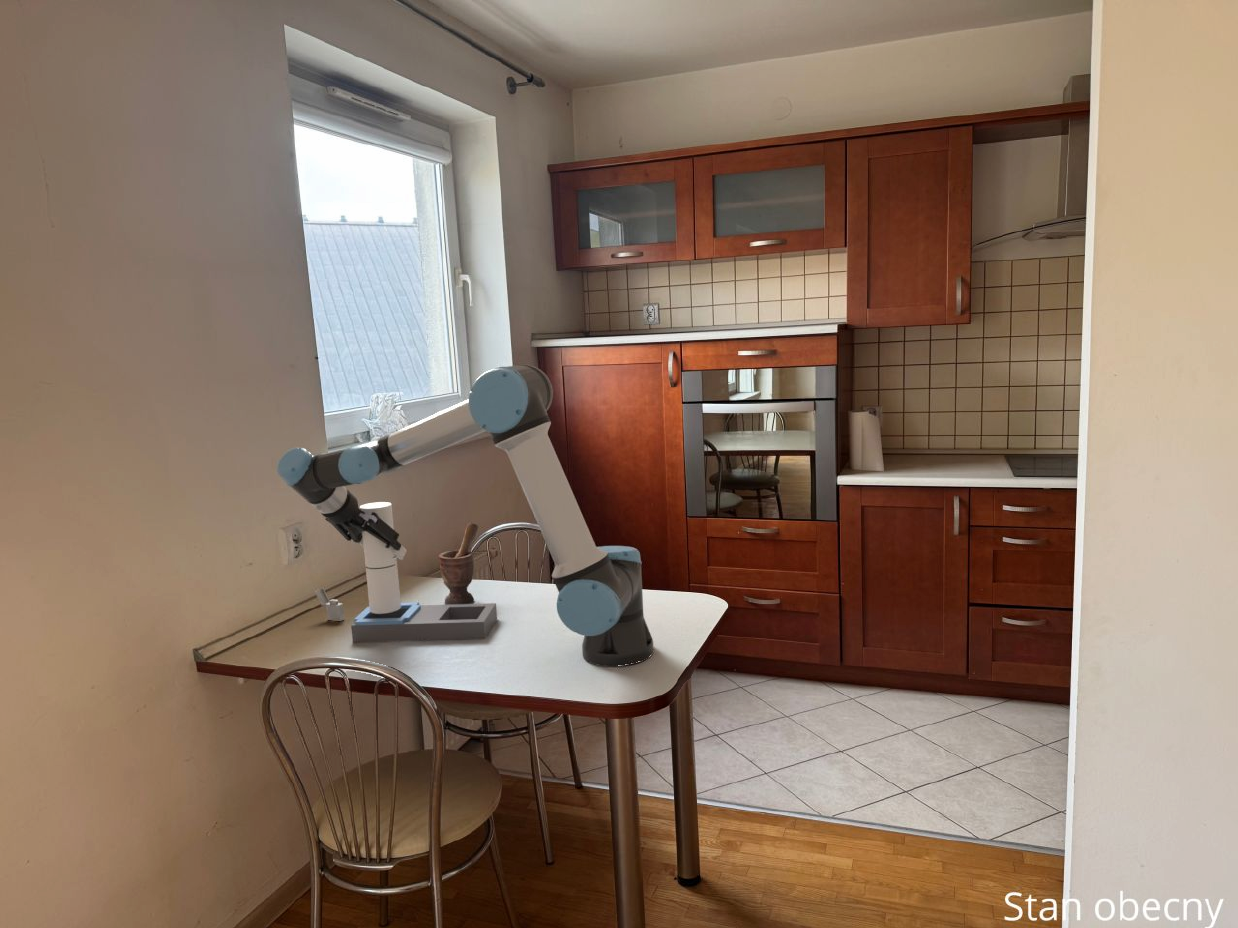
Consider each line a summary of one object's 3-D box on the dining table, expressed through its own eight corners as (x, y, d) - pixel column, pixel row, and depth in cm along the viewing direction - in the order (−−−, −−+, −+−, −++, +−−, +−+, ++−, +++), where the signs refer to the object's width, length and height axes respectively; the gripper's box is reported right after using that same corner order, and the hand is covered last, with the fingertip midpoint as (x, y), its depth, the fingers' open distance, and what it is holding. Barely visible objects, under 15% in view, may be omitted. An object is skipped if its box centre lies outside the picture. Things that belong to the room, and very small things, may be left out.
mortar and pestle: (459, 593, 227) (452, 520, 224) (488, 594, 225) (482, 521, 221) (437, 607, 217) (430, 531, 213) (467, 608, 214) (460, 532, 211)
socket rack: (497, 618, 205) (495, 599, 204) (484, 638, 192) (483, 618, 191) (373, 622, 208) (371, 603, 207) (352, 641, 195) (350, 622, 194)
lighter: (344, 619, 211) (341, 588, 209) (340, 622, 209) (336, 591, 208) (322, 617, 214) (319, 586, 212) (318, 619, 212) (314, 588, 211)
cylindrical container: (405, 603, 203) (396, 501, 199) (394, 613, 196) (384, 508, 192) (376, 603, 204) (366, 502, 200) (365, 613, 197) (354, 509, 193)
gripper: (292, 513, 186) (351, 564, 203) (361, 517, 178) (417, 570, 195) (307, 485, 190) (364, 537, 207) (376, 488, 182) (430, 542, 199)
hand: (390, 553), depth 201 cm, fingers closed on cylindrical container, 7 cm apart
